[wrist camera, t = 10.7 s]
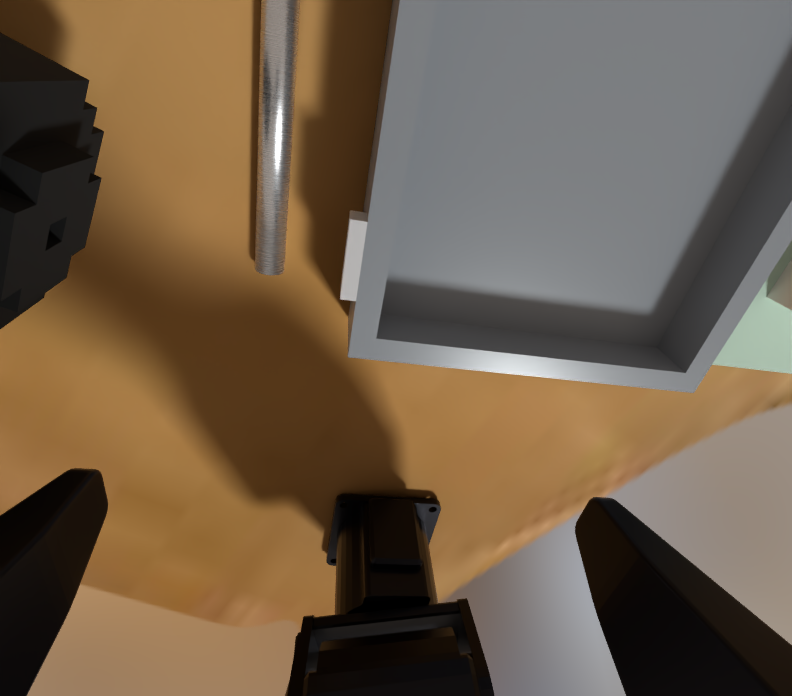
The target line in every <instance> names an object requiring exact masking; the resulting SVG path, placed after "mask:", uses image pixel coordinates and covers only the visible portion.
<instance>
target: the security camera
mask: <svg viewBox="0 0 792 696" xmlns="http://www.w3.org/2000/svg"><path fill="white" fill-rule="evenodd" d="M88 84H89V80H88V79H86V78H84V77H82V76H80V75H78V74H76V73H75V72H73V71H71V70H69V69H67V68H65V67H63V66H61V65H60V64H58V63H56V62H54V61H52V60H50V59H48V58H47V57H45V56H43V55H41V54H39V53H37V52H35V51H33V50H32V49H30V48H28V47H26V46H24V45H22V44H20V43H19V42H17V41H15V40H13V39H11V38H9V37H7V36H5V35H4V34H2V33H0V329H1V328H3V327H4V326H5V325H7V324H8V323H10V322H11V321H12V320H14V319H15V318H16V317H18V316H19V315H21V314H22V313H23V312H25V311H26V310H27V309H29V308H30V307H32V306H33V305H34V304H36V303H37V302H39V301H40V300H41V299H43V298H44V295H45V293H46V292H47V291H48V290H50V289H51V288H53V287H54V286H55V285H57V284H58V283H60V282H61V281H63V280H64V279H65V278H66V277H67V273H68V269H69V264H70V260H71V256H72V255H74V254H75V253H77V252H78V251H80V250H81V249H83V248H84V247H85V244H86V240H87V236H88V232H89V228H90V224H91V219H92V215H93V211H94V207H95V203H96V199H97V195H98V190H99V186H100V182H101V178H100V177H98V176H96V175H94V172H95V168H96V163H97V159H98V155H99V151H100V146H101V142H102V138H103V133H104V131H102V130H100V129H98V128H96V127H94V126H93V124H94V120H95V115H96V111H97V108H96V107H94V106H92V105H91V104H89V103H87V102H85V98H86V93H87V89H88Z"/></svg>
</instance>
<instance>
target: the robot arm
mask: <svg viewBox="0 0 792 696" xmlns="http://www.w3.org/2000/svg"><path fill="white" fill-rule="evenodd" d="M344 502H345V503H344ZM107 510H108V500H107V495H106V491H105V486H104V482H103V477H102V474H101V472H100V471H99V470H96V469H82V468H74V469H70V470H68V471H66V472H64V473H63V474H61V475H60V476H58V477H57V478H55V479H54V480H52V481H51V482H49V483H48V484H47V485H45V486H44V487H42V488H41V489H39V490H38V491H36V492H35V493H33V494H32V495H30V496H29V497H27V498H26V499H24V500H23V501H21V502H20V503H18V504H17V505H15V506H14V507H12V508H11V509H9V510H8V511H6V512H5V513H3V514H2V515H0V696H27V694H28V692H29V690H30V688H31V686H32V684H33V682H34V680H35V678H36V676H37V674H38V672H39V670H40V668H41V666H42V664H43V662H44V660H45V659H46V656H47V655H48V652H49V651H50V649H51V647H52V645H53V643H54V641H55V638H56V637H57V635H58V632H59V631H60V629H61V627H62V625H63V623H64V621H65V619H66V616H67V614H68V612H69V610H70V608H71V605H72V603H73V600H74V598H75V596H76V593H77V590H78V588H79V585H80V583H81V580H82V578H83V575H84V572H85V570H86V567H87V564H88V562H89V559H90V557H91V554H92V551H93V549H94V546H95V544H96V541H97V538H98V536H99V533H100V530H101V528H102V525H103V523H104V520H105V517H106V514H107ZM440 510H441V507H440V502H439V501H438V500H436V499H426V498H406V497H387V496H368V495H349V494H342V495H339V496H338V497H337V498H336V501H335V508H334V514H333V520H332V526H331V533H330V539H329V545H328V551H327V563H328V564H329V565H333V566H336V593H335V615H329V616H320V617H314V615H312V616H304V617H303V622H302V628H301V632H299V633H298V635H297V636H296V640H295V650H294V651H295V652H294V659H293V664H292V670H291V676H290V681H289V684H288V688H287V691H286V694H285V696H494V691H493V687H492V683H491V678H490V674H489V670H488V667H487V663H486V660H485V657H484V653H483V650H482V647H481V643H480V640H479V637H478V634H477V630H476V627H475V623H474V620H473V617H472V613H471V610H470V607H469V604H468V600H467V598H466V599H457V601H456V602H447V603H438V600H437V594H436V588H435V582H434V576H433V569H432V563H431V557H430V551H429V542H430V540H431V537H432V534H433V531H434V528H435V525H436V522H437V519H438V516H439V513H440ZM575 534H576V538H577V542H578V546H579V550H580V554H581V557H582V561H583V565H584V569H585V572H586V577H587V580H588V584H589V588H590V592H591V595H592V599H593V603H594V606H595V609H596V613H597V616H598V619H599V621H600V625H601V627H602V630H603V633H604V636H605V639H606V641H607V644H608V647H609V649H610V652H611V655H612V658H613V661H614V663H615V666H616V669H617V672H618V674H619V677H620V680H621V683H622V685H623V688H624V691H625V694H626V696H792V645H791V644H790V643H788V642H787V641H786V640H785V639H783V638H782V637H781V636H780V635H779V634H777V633H776V632H775V631H774V630H773V629H771V628H770V627H769V626H768V625H767V624H765V623H764V622H763V621H761V620H760V619H759V618H758V617H757V616H756V615H754V614H753V613H752V612H751V611H750V610H748V609H747V608H746V607H745V606H743V605H742V604H741V603H740V602H739V601H737V600H736V599H735V598H734V597H733V596H731V595H730V594H729V593H728V592H726V591H725V590H724V589H723V588H722V587H720V586H719V585H718V584H717V583H716V582H714V581H713V580H712V579H711V578H709V577H708V576H707V575H706V574H705V573H703V572H702V571H701V570H700V569H699V568H697V567H696V566H695V565H694V564H692V563H691V562H690V561H689V560H688V559H686V558H685V557H684V556H683V555H681V554H680V553H679V552H678V551H677V550H675V549H674V548H673V547H672V546H670V545H669V544H668V543H667V542H666V541H665V540H663V539H662V538H661V537H660V536H658V535H657V534H656V533H655V532H654V531H652V530H651V529H650V528H649V527H648V526H646V525H645V524H644V523H643V522H642V521H640V520H639V519H638V518H637V517H635V516H634V515H633V514H632V513H631V512H629V511H628V510H627V509H626V508H625V507H623V506H622V505H621V504H620V503H618V502H617V501H616V500H614V499H612V498H603V497H593V498H592V499H590V500H589V502H588V503H587V505H586V507H585V508H584V510H583V512H582V514H581V515H580V517H579V519H578V521H577V522H576V526H575Z"/></svg>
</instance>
